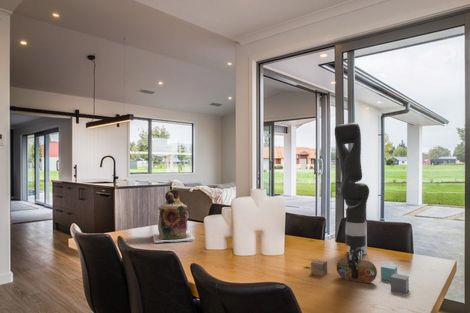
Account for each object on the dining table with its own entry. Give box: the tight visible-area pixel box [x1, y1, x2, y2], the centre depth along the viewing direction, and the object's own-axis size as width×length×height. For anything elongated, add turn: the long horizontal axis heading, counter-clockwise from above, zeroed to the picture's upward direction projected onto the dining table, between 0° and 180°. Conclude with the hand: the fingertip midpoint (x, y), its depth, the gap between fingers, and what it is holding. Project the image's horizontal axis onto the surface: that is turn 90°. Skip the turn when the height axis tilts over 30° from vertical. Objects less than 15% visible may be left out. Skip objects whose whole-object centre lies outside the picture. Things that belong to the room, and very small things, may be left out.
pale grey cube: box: [390, 273, 410, 295], centre depth 120 cm, size 5×5×5 cm
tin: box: [336, 257, 378, 284], centre depth 130 cm, size 15×3×8 cm, turn 56°
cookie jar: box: [152, 187, 196, 244], centre depth 208 cm, size 25×25×32 cm
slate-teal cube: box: [380, 263, 398, 282], centre depth 132 cm, size 5×5×5 cm
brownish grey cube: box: [310, 259, 328, 277], centre depth 139 cm, size 5×5×5 cm
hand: (355, 277), depth 130 cm, fingers closed on tin, 2 cm apart
